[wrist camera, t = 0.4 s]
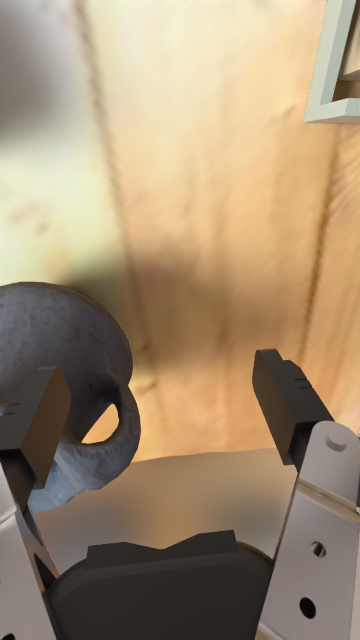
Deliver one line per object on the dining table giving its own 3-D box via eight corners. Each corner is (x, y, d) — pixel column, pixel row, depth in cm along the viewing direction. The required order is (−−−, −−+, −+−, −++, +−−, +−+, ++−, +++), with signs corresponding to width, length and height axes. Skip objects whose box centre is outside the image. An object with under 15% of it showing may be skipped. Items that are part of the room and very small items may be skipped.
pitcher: (-33, 261, 36) (-294, 419, 15) (134, 243, 37) (106, 373, 16) (26, 377, 47) (-77, 564, 26) (154, 362, 48) (154, 534, 26)
